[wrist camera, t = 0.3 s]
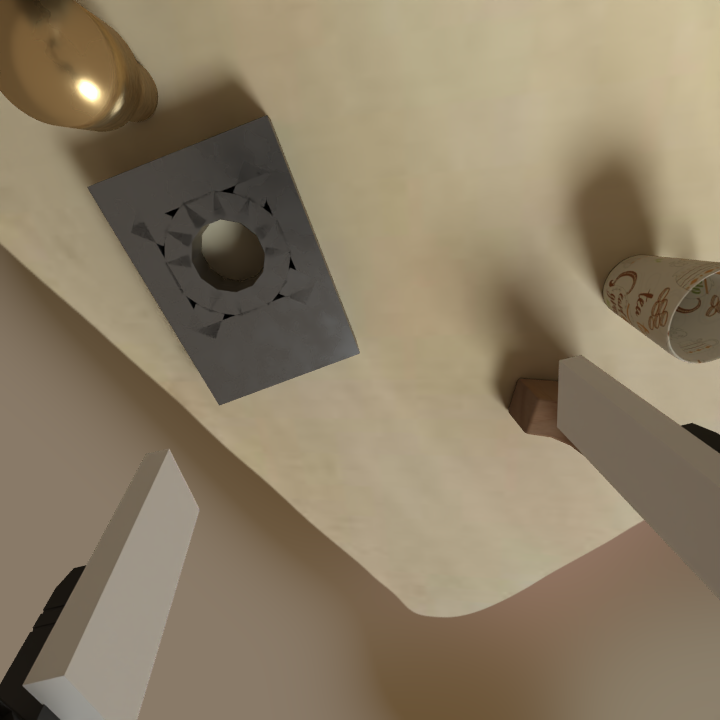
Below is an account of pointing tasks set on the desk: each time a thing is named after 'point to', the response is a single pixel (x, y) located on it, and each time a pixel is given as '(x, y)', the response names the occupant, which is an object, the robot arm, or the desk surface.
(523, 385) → the wooden block
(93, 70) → the knob
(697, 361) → the mug
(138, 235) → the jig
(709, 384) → the desk surface
